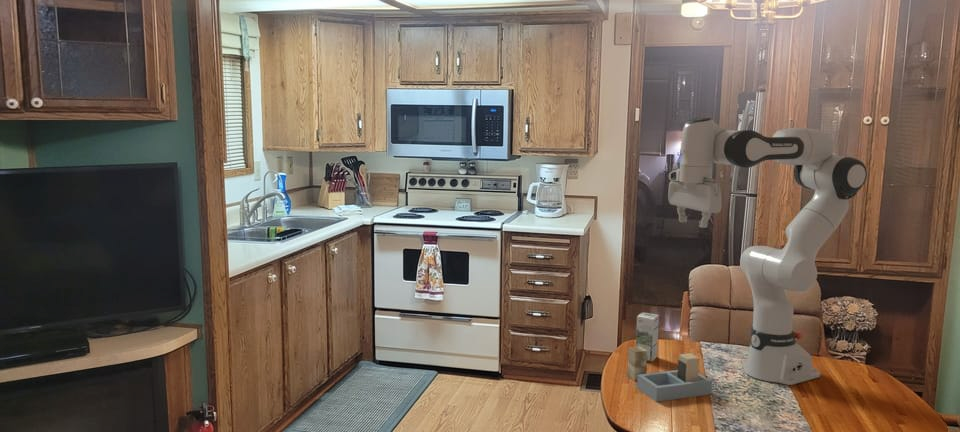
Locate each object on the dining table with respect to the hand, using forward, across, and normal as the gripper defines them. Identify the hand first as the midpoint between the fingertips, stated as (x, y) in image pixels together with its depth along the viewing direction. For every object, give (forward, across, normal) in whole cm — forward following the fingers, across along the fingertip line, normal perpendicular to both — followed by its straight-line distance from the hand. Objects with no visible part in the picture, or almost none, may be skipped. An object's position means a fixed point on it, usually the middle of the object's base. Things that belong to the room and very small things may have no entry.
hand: (692, 224), depth 193 cm
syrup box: (+48, +23, -2) cm, 53 cm away
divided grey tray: (+48, -3, +5) cm, 48 cm away
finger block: (+48, +9, +10) cm, 50 cm away
